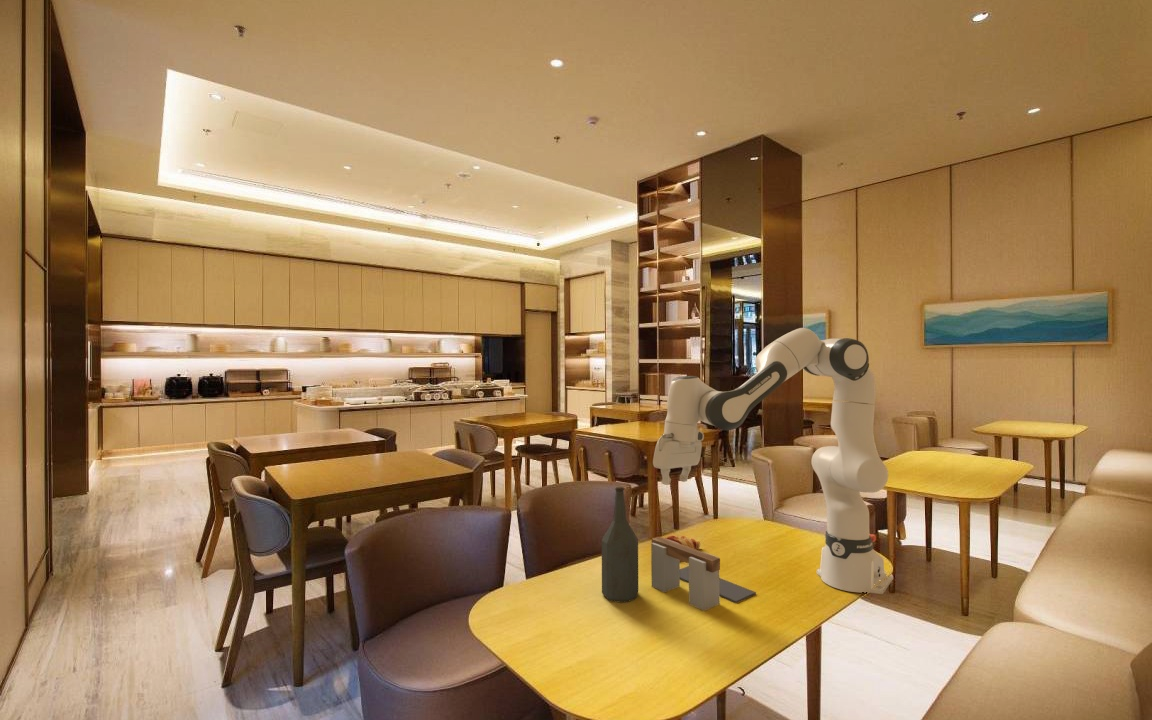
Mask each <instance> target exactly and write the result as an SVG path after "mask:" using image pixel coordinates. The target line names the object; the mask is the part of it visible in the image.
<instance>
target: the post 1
mask: <svg viewBox="0 0 1152 720" xmlns="http://www.w3.org/2000/svg"><path fill="white" fill-rule="evenodd" d="M667 540H668V539H667ZM670 541H671V540H670ZM673 542H674V541H673ZM676 543H677V542H676ZM650 545H651V546H650V547H651V549H650V550H651V552H650V553H651V555H650V557H651V558H650V559H651V561H650V562H651V570H650V571H651V573H650V574H651V587H653V588H655V589H656V590H659V591H661V592H662V593H666V592H669V591H672V590H674V589H677V588H679V587H680V586H681V584H680V582H681V580H680V569H681V567H680V564H681V563H680V561H681V560H678V559H676V558H673V557H671V556H668V555H667V550H666V547H664V546H661V545H659V544H656V543H652V542H651V543H650Z"/></svg>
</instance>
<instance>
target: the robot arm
mask: <svg viewBox="0 0 1152 720" xmlns="http://www.w3.org/2000/svg"><path fill="white" fill-rule="evenodd" d="M869 357H870V355H869V352H868V349H867V347H866V346H865V344H864V343H863V342H862V341H859V340H857V339H854V338H850V337H849V338H847V337H844V338H836V337H835V338H827V339H820V338H819V336H818V335H817V333H816V332H814V331H813V330H811V329H809V328H807V327H799V328H796V329H794V330H791V331H790V332H787V333H786V334H784V335H782V336H780V337H778V338H776V339H775V340H774V341H772V342H771V343H769V344H768V345H766V346H765V347H764V348H763V349H762V350H761V351H760V352H759V353H758V354H757V355H756V358H755V362H754V363H755V369H756V371H757V372H756V373H755V374H754V375H753V376H751V377H750V378H749V379H748V380H746V381H745V382H744V383H743V384H741V385H740V386H738V387H737V388H735V389H733V390H728V391H719V390H716V389H714V388H713V387H711V386H709V385H707V384H706V383H705V382H703V381H702V380H701V379H700V378H699V377H698V376H694V375H689V376H688V375H687V376H686V375H683V376H682V375H681V376H677V377H674V378H673V379H672V380H671V382H670V384H669V388H668V394H667V400H666V402H667V403H666V409H667V413H666V417H665V420H664V430H663V433H662V435H661V436H660V438H659V439H658V440H657V442H656V444H655V448H654V454H653V458H652V465H653V467H654V468H656V469H660V473H661V478H662V481H661V483H662V485H664V486H669V485H671V484H672V483H671V481H672V478H671V477H670V472H671V469H677V468H678V469H679V468H682V470H681V474H679V481H680V482H683V483H685V482H688V478H689V477H688V476H689V474H690V472H691V471H692V470H691V469H692V466H697V465H699V463H700V460H701V455H702V448H703V447H702V445H703V444H702V441H704V439H705V438H704V437H705V434H704V432H702V431H701V430H700V429H698V423H699V422H700V421H701V422H703V423H705V424H708V425H711V426H712V427H713V426H714V427H715V428H718V429H719V430H723V431H733V430H735V429H737V428H739V427H740V426H741V425H742V424H743V423H744V421H746V418H747V417H748V416H749V414H750V412H751V411H752V409H754V408H755V407H756V406H757V405H758V404H759V403H761V402H762V401H763V400H764V399H766V398H767V396H769V395H770V394H772V393H773V392H774V391H775V390H777V389H778V388H779V387H780V386H781V385H782V384H783V383H784V382H786V381H787V380H788V379H790V378H791V377H793V376H794V375H796V374H797V373H798V372H800V371H801V370H804V372H807V373H808V374H811V375H814V376H817V377H819V376H822V377H827V378H829V377H830V378H831V379H832V380H833V384H834V390H833V397H832V405H831V413H830V414H831V417H830V428H831V429H832V431H833V432H834V434H835V437H836V439H837V445H827V446H822V447H819V448H818V449H816V450H815V452H813V454H812V457H811V466H812V467H811V468H812V470H813V471H814V472H815V474H816V475H817V477H818V480H819V482H820V485H821V489H822V493H823V496H824V497H823V498H824V499H825V500H824V501H825V506H826V507H825V508H826V531H825V535H824V539H825V543H824V544H825V545H824V546H823V547H821V552H820V553H821V556H820V567H819V568H817V569H816V574H817V575H818V576H819V577H821V579H820V580H822V581H823V583H825V584H826V585H828V586H829V587H832V588H835V589H838V590H841V591H846V592H850V593H861V594H863V593H862V592H864V593H866V592H867V593H870V594H879V595H882V594H884V593H885V592H886V590H887V589H888V587H889V585H891V583H892V581H893V580H894V576H893V574H891V573H890V574H891V575H890V576H889V577H887V576H886V575H887V573H886V572H887V571H886V570H885V561H884V558H883V557H882V555H880V554H879V552H877V551H876V550H875V549H874V545H873V543H874V542H876V540H877V536H876V534H873V533H872V534H871V533H870V511H869V507H868V505H867V504H866V503H865V501H864V499H863V498H862V495H861V493H871V494H873V493H877V492H880V491H881V490H883V489H884V488H885V486H886V485H887V482H888V481H889V480H888V479H889V470H888V468H887V465H886V464H885V463H884V462H883V461H882V459H881V457H880V455H879V453H878V452H879V451H878V449H877V446H876V441H875V435H874V424H875V423H874V421H875V410H876V400H877V399H876V397H877V396H876V380H875V374H874V372H873V370H872V369H870V363H869V361H870V358H869ZM884 572H885V573H884ZM885 578H886V580H885V581H883V580H884V579H885ZM879 580H881V581H879ZM880 582H882V583H881V584H879V583H880ZM874 584H875V585H874ZM877 584H879V585H878V586H876V585H877ZM874 586H876V587H875V588H873V587H874ZM872 588H873V589H872ZM869 590H870V591H869Z"/></svg>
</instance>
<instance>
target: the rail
mask: <svg viewBox="0 0 1152 720" xmlns="http://www.w3.org/2000/svg"><path fill="white" fill-rule="evenodd" d="M664 538H665V537H662V536H657V537H656V536H655V537H652V538H651V541H650V542H651V543H656V544H659V545H661V546H664V547H666V550H667V555H668V556H671V557H673V558H676V559H678V560H680V561H682V562H684V563H686V564H689V557H693V558H696V559H699V560H701V561H704V562H706V570H707V571H709V572H712V573H713V572H715V571H718V570H719V571H720V570H721V558H720V557H719V558H718V556H716V555H713V554H711V555H709V554H710V553H708V554H707V552H705V553H704V551H700V550H698V549H697V550H695V549H693V548H690V547H687V546H684V545H681V544H679V543H676V542H673V541H670V540H667V539H664ZM712 555H713V556H712ZM715 556H716V557H715Z"/></svg>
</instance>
